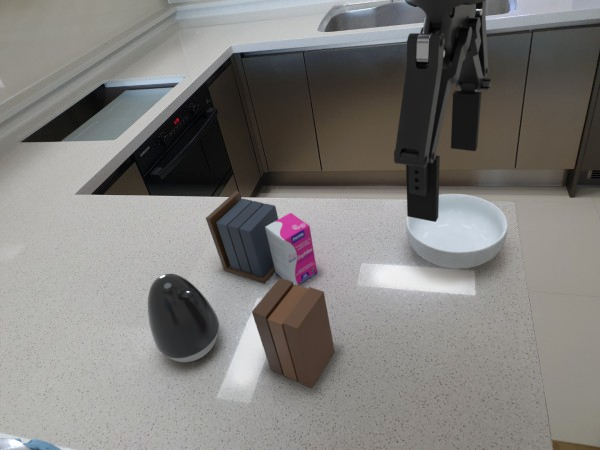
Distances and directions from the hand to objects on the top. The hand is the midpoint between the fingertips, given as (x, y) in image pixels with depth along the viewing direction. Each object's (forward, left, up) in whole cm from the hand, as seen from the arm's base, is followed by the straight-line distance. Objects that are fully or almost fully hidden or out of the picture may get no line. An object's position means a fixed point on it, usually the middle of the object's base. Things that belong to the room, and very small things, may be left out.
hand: (445, 179), depth 47 cm
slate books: (+8, +38, -31) cm, 50 cm away
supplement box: (+8, +29, -31) cm, 43 cm away
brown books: (-8, +18, -31) cm, 37 cm away
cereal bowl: (+24, +5, -31) cm, 39 cm away
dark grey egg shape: (-13, +36, -31) cm, 49 cm away
